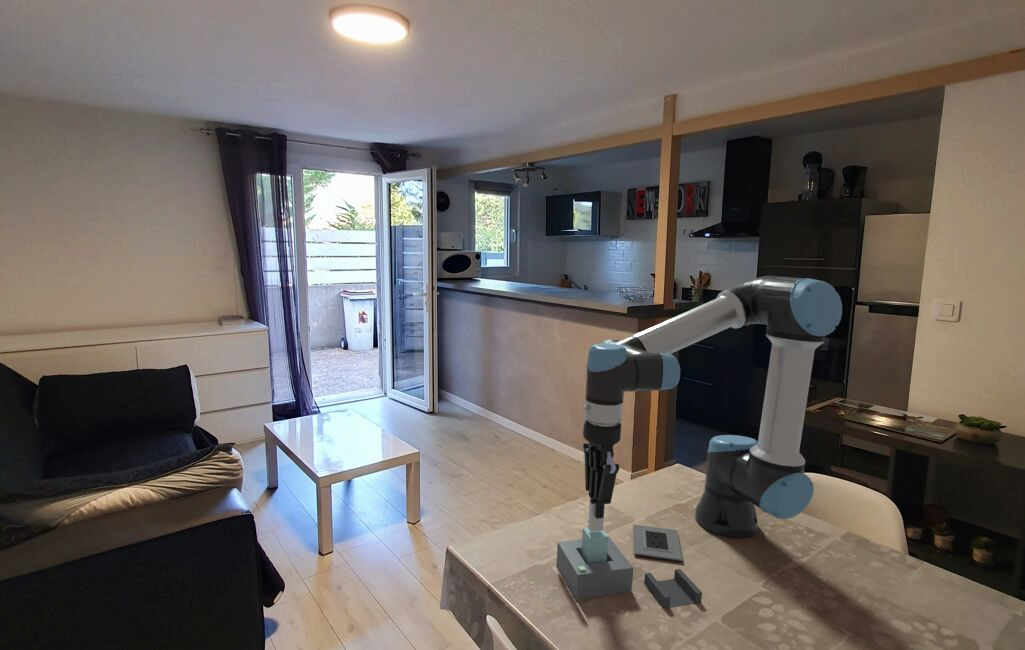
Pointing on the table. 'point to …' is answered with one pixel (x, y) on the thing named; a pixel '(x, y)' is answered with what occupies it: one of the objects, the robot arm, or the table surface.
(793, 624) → the table surface
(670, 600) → the grey u-channel bracket
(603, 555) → the plug
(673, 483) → the table surface
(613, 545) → the port block
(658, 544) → the electrical outlet
